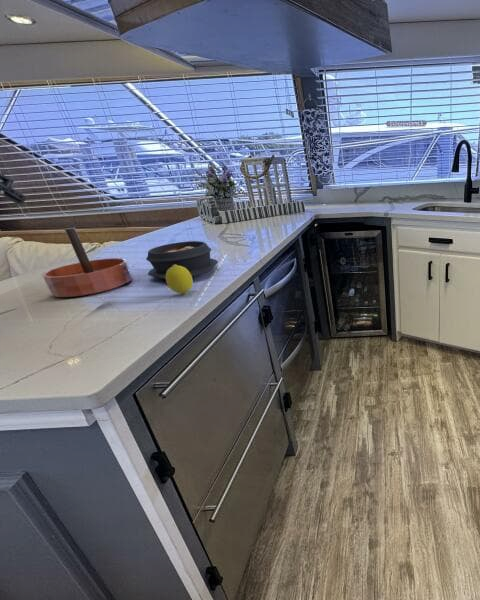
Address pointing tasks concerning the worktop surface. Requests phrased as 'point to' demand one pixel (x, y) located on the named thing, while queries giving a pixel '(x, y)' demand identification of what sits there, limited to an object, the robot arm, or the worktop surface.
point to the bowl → (87, 278)
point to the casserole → (181, 258)
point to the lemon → (179, 279)
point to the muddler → (79, 250)
